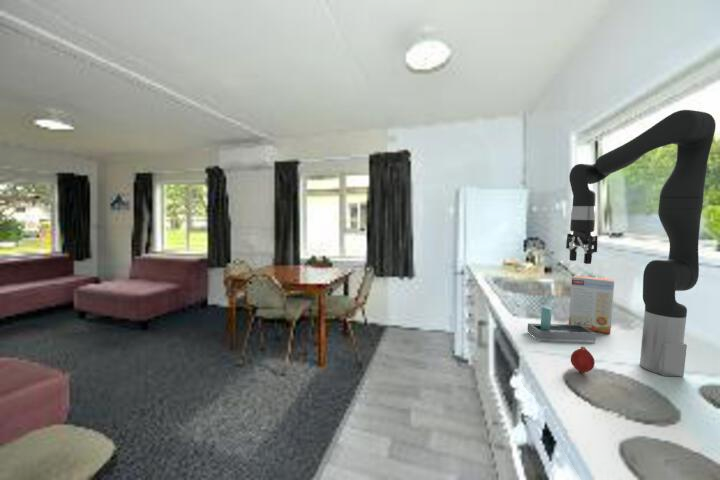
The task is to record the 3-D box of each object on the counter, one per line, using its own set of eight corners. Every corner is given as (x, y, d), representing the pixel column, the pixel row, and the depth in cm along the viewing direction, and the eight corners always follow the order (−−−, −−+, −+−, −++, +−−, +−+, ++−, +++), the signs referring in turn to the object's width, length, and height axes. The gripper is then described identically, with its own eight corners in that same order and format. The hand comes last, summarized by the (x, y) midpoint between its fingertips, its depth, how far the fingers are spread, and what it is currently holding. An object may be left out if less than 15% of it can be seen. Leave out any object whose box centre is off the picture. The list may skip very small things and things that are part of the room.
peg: (557, 337, 124) (559, 310, 123) (540, 337, 124) (542, 310, 123) (548, 331, 130) (550, 306, 129) (532, 331, 130) (534, 305, 129)
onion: (571, 366, 103) (573, 340, 102) (594, 372, 99) (596, 346, 98) (568, 373, 98) (570, 346, 98) (592, 379, 95) (594, 352, 94)
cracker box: (610, 330, 136) (615, 279, 134) (610, 334, 131) (614, 281, 129) (569, 323, 145) (573, 274, 143) (568, 326, 140) (571, 276, 138)
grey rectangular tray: (595, 343, 122) (595, 333, 122) (538, 341, 123) (539, 331, 122) (579, 334, 131) (580, 324, 131) (527, 332, 132) (527, 323, 131)
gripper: (606, 219, 119) (603, 265, 120) (580, 218, 133) (577, 259, 134) (585, 218, 119) (582, 264, 120) (561, 218, 133) (558, 259, 134)
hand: (579, 262), depth 127 cm, fingers open, 8 cm apart
